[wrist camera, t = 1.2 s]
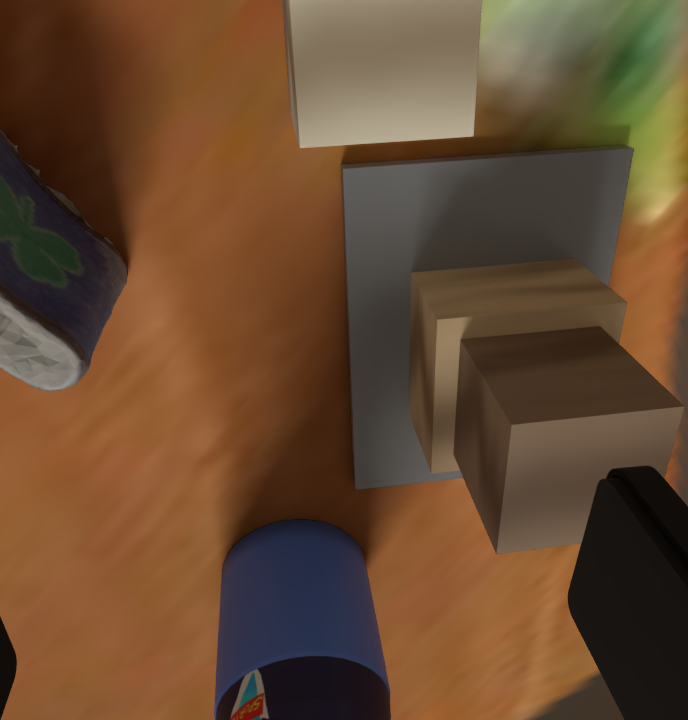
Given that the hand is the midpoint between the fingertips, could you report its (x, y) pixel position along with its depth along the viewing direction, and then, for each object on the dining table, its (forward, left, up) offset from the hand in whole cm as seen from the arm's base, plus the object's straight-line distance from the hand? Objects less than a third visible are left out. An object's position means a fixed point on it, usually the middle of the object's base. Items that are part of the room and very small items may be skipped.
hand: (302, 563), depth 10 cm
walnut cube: (+8, +10, -15) cm, 20 cm away
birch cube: (-6, +4, -21) cm, 22 cm away
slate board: (+8, +10, -21) cm, 24 cm away
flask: (0, -10, -21) cm, 23 cm away
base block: (+8, +10, -20) cm, 24 cm away
